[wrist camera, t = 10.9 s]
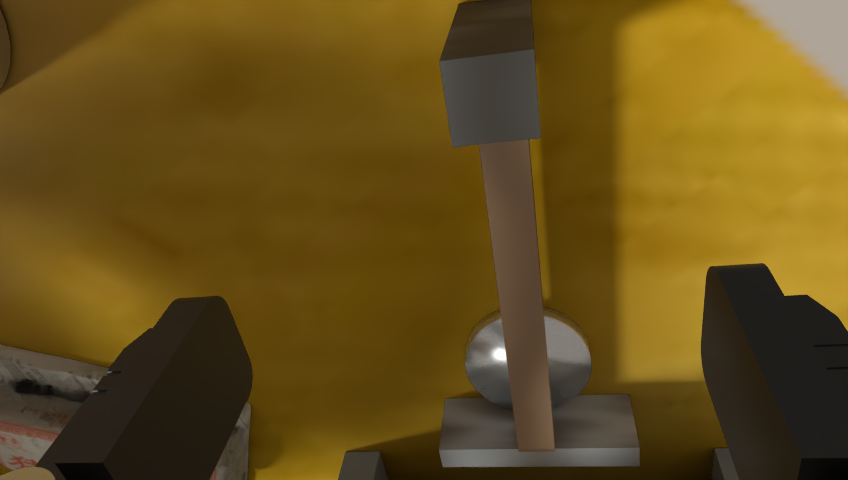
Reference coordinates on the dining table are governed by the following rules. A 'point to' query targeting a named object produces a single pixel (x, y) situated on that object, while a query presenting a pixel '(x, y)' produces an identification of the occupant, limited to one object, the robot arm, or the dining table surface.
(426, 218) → the dining table surface
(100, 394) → the robot arm
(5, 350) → the packaged product
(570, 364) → the steel token
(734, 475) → the slate cabinet
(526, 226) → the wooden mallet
